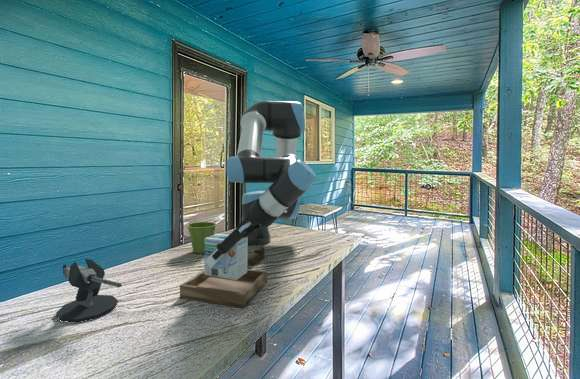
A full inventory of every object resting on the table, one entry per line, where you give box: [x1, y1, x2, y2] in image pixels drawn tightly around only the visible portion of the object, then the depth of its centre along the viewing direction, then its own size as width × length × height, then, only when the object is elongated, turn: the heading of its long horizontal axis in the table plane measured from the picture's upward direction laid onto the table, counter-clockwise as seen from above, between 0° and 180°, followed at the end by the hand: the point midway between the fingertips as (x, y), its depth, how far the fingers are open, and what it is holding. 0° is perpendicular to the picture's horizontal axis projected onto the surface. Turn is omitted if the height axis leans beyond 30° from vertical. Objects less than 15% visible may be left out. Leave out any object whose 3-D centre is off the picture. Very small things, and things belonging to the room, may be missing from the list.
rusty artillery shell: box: [247, 246, 266, 269], centre depth 107 cm, size 19×4×5 cm, turn 155°
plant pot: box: [186, 221, 218, 254], centre depth 121 cm, size 12×12×11 cm
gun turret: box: [55, 258, 123, 323], centre depth 72 cm, size 13×20×13 cm, turn 68°
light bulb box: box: [203, 233, 249, 280], centre depth 85 cm, size 11×7×11 cm, turn 72°
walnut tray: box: [179, 268, 268, 309], centre depth 86 cm, size 17×19×4 cm
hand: (215, 259), depth 86 cm, fingers closed on light bulb box, 7 cm apart
